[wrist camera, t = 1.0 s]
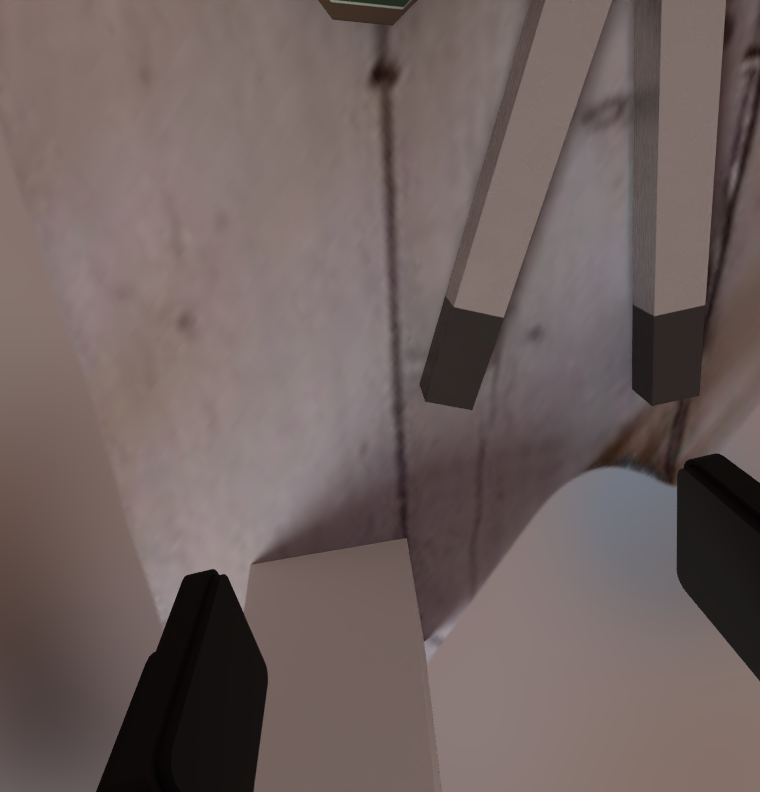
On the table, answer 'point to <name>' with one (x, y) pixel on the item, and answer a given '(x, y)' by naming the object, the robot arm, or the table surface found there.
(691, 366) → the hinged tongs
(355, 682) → the milk
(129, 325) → the table surface
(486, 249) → the tongs arm
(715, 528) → the robot arm
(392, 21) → the beer bottle
